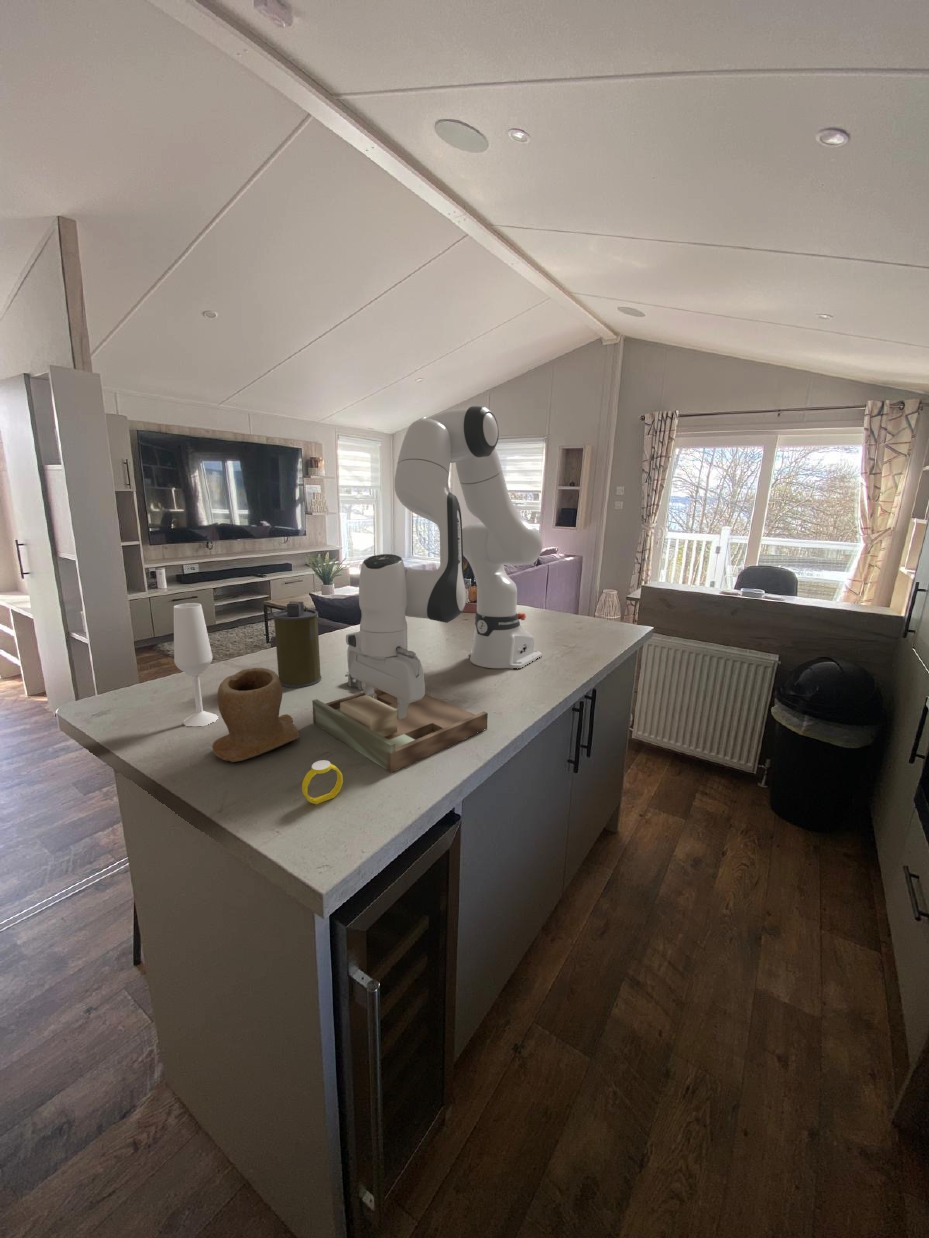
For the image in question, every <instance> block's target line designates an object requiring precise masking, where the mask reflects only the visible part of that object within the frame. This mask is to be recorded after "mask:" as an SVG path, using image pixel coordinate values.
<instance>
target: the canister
mask: <svg viewBox="0 0 929 1238" xmlns="http://www.w3.org/2000/svg"><path fill="white" fill-rule="evenodd" d="M318 614H319V612H318V611H317V610H316V609H311V608H308V607H307V606H305V603H304V601H296V600H295V601H293V600H292V601H289V602H288V603H287V604H286V609H283V610H279V611H276V612H274V613H273V614H272V616H273V620H274V621H273V622H274V635H275V646H276V649H275V650H276V660H277V673H278V674H277V675H278V677H279V680H280V682H281V686H282V687H285V688H292V689H293V688H294V689H295V688H296V689H297V688H305V687H309V686H313V685H316V684H317V683H319V682H320V681H321V680H322V675H321V662H320V661H321V660H320V659H321V658H320V643H319V642H320V641H319V638H320V637H319V623H318V621H319V619H318Z"/></svg>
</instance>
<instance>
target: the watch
mask: <svg viewBox="0 0 929 1238" xmlns="http://www.w3.org/2000/svg"><path fill="white" fill-rule="evenodd" d="M330 770H334V771H335V772H336V777H337V779H336V781H335V782H336V783H335V785H334V787H333V788H332V789H331V790H330V792H328V793H325V794H323V795H319V796H317V797H312V796H310V795H309V794H308V790H309V789H308V788H309V785H310V783H311V780H312V778H313V777H315V776H316V775H317V774H319V775H320V774H322V775H323V774H325V773H328V772H329V771H330ZM343 777H344V776H343V773H342V771H341V770H339V768H338V767H337V766H336V765H334V764H332V763H331V761H329V760H327V759H323V760H317V761H315V762H313V764H311V769H310V770H309V771H308V772H307V773H306V774H305V776H304V778H303V780H302V783H301V791H302V794H303V795H304V796H303V797H305V798H306V800H307V801H308V802H309V803H311V804H314V805H318V804H321V803H323V802H327V801H328V800H332V799H334V798H335V797H337V795H338V794H339V793H340V791H341V790H342V786H343V782H344V778H343Z"/></svg>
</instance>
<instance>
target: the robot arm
mask: <svg viewBox="0 0 929 1238" xmlns="http://www.w3.org/2000/svg"><path fill="white" fill-rule="evenodd" d="M499 431H500V430H499V424H498V421H497V418H496V416H495V415H494V413H493V412H492V411H491V410H490V409H489V408H488V407H485V406H477V405H473V406H472V405H471V406H470V407H467V408H455V409H450V410H445V411H443V412H440V413H436V414H434V415H431V416H428V417H426V416H424V417H421V418H419V419H417V420H414V421H413V422H412V423H410V425H409V426H408V428H407V431H406V433H405V435H404V438H403V441H402V444H401V446H400V447H401V448H400V451H399V455H398V459H397V462H396V470H395V475H394V492H395V494H396V498H397V499H398V501H399V502H400V503H401V504H402V505H403V506H404V507H405V508H406V509H407V510H409V512H411V513H414V514H415V515H416V516H419V517H421V518H423V519H426V520H428V521H429V522H431V523H434V524H435V525H437V527H438V530H439V566H438V568H437V569H434V570H433V569H431V570H430V569H429V570H428V569H414V568H408V567H406V566H405V564H404V559H403V558H402V557H401V556H399V555H396V554H391V553H384V554H382V553H381V554H377V555H376V554H374V555H372V556H368V557H367V558H366V559H364V560H363V561H362V563H361V567H360V573H359V580H358V581H359V582H358V604H359V605H358V606H359V609H360V612H361V619H360V624H359V631H355V632H351V633H348V634H346V636H345V642H346V645H347V650H346V651H347V652H346V653H347V654H346V655H347V668H348V670H347V671H349V672H350V675H351V677H353V678H355V679H357V680H360V681H361V685H362V688H363V692H364V693H365V695H368V696H370V697H372V698H374V699H376V700H377V694H375V692H374V689H376V688H377V689H379V690H381V691H383V692H386V693H388V694H390V695H392V696H394V697H396V698H397V702H398V703H399V705H398V708H395V709H397V718H399V719H403V718H405V717H406V709H407V707H408V705H409V703H412V702H415V701H418V700H421V699H422V698H423V697H424V695H425V694H426V685H425V676H424V675H425V674H424V669H423V668H424V667H423V665H422V662H421V659H419V657H418V655H417V653H416V652H415V651H413V650H408V649H409V647H408V622H407V618H417V619H427V620H431V621H434V622H435V621H436V622H441V623H446V624H447V623H450V622H451V621H453V620H455V619H456V618H458V616H460V615H461V614H462V613H463V612H464V610H465V607H466V603H467V602H466V601H467V591H466V581H465V574H464V557H465V560H467V562H468V563H469V566H470V568H471V570H472V573H473V576H474V579H475V583H476V612H475V616H474V625H475V629H474V631H473V639H472V648H471V650H470V652H469V656H470V657H469V660H470V662H471V663H472V664H473V665H476V666H478V667H483V668H490V669H513V668H517V669H518V668H521V669H522V667H523V668H524V667H526V666H528V665H529V663H530V664H532V663H533V662H536V661H537V660H538V659H540V658H542V657H543V654H542V652H541V651H539V650H538V649H535V639H534V637H533V635H532V634H531V633H530V632H528V631H527V630H526V629H525V628H523V627H522V626H521V623H520V620H521V621H525V620H526V618H527V614H526V613H522V612H518V613H517V604H518V603H517V601H518V587H517V584H516V583H515V582H514V580H512V579H511V578H510V577H509V575H508V574H507V572H506V570H505V567H504V565H505V566H512V567H513V566H514V567H520V566H527V565H532V564H535V562H536V561H537V560H538V559H539V558H540V556H541V553H542V551H543V537H542V535H541V533H540V532H539V530H537V529H536V528H535V527H533V526H532V525H531V524H529V523H528V522H527V520H525V519H524V518H523V516H522V515H521V514H520V512H519V511H518V509H517V508H516V506H515V505H514V503H513V501H512V499H511V496H510V494H509V491H508V487H507V484H506V479H505V476H504V472H503V468H502V464H501V461H500V458H499V455H498V452H497V449H496V446H497V444H498V442H499V434H500V432H499ZM454 463H455V467H456V468H455V469H456V472H457V477H458V481H459V484H460V487H461V491H462V493H463V497H464V501H465V505H466V508H467V509H468V511H469V513H470V514H471V515H473V516H474V517H476V518H477V519H478V520H479V522H474V523H470V524H466V525H464V527H463V523H462V522H463V519H462V511H461V506H460V502H459V499H458V497H457V496H456V495H455V494H453V493H452V492H451V490H450V486H449V478H450V477H449V476H450V468H451V464H454ZM406 617H407V618H406ZM541 656H542V657H541ZM539 657H540V658H539ZM537 658H538V659H537ZM536 659H537V660H536ZM532 661H533V662H532ZM527 664H528V665H527ZM525 665H526V666H525ZM517 669H516V670H517ZM518 670H519V669H518Z"/></svg>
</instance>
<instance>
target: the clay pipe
mask: <svg viewBox="0 0 929 1238" xmlns="http://www.w3.org/2000/svg"><path fill="white" fill-rule="evenodd" d="M283 694H284V693H283V686H282V685H281V682H280V680H279V676H278V674H277V673H276V672H275V671H273V670H272V669H269V668H265V667H264V668H262V667H253V668H245V669H242V670H240V671H238V672H236V673H235V674H232V675H229V676H227V677H226V678H224V679H223V680H222V681H221V683H219V686H218V689H217V704H218V705H217V706H218V710H219V714H220V715H221V718H222V721H223V722H224V724H225V725H226V728H227V730H228V734H226V735H223V736H221V737H220V738H218V739H216V740H215V741H214V742H213V743H212V746H211V747H212V751H213V754H214V755H215V756H217V757H218V758H219V759H221V760H223V761H226V762H227V761H228V762H229V761H230V762H231V763H234V762H235V763H236V762H241V761H245V760H248V759H252V758H254V757H257V756H261V755H263V754H264V753H267V752H269V751H272V750H274V749H276V748H279V747H281V746H284V745H285V744H288V743H290V742H292V741H295V740H297V739H299V737H300V734H299V731H298V729H297V728H296V726H295V724H294V720H293V717H292V716H291V715H290V714H283V715H282V714H281V715H280V709H281V704H282V699H283Z"/></svg>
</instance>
